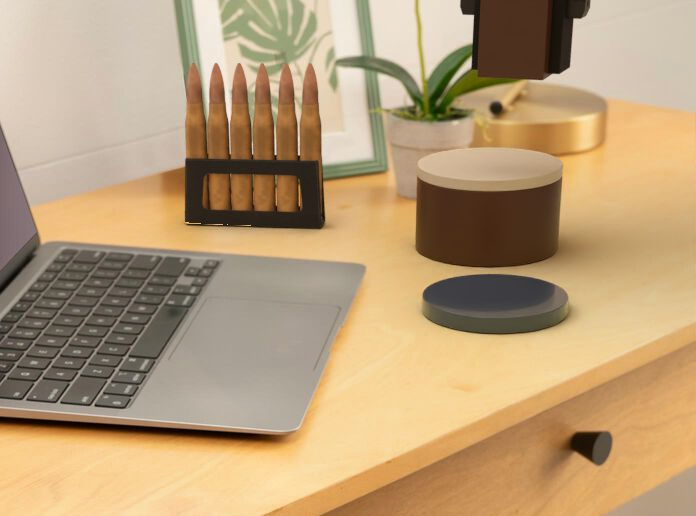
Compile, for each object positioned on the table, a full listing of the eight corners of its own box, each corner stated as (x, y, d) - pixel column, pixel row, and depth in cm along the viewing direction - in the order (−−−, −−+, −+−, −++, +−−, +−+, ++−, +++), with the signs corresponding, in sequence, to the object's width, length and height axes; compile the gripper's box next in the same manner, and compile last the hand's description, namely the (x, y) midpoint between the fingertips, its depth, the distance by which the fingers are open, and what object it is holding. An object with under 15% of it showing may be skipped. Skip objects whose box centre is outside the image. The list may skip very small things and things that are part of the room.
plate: (524, 281, 99) (524, 267, 99) (594, 322, 91) (596, 306, 91) (398, 298, 97) (399, 283, 97) (460, 341, 89) (461, 325, 89)
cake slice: (499, 64, 102) (504, -29, 99) (563, 67, 100) (570, -27, 97) (476, 77, 98) (481, -20, 95) (543, 80, 96) (549, -18, 93)
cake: (515, 222, 113) (520, 141, 110) (584, 256, 104) (590, 170, 101) (392, 237, 110) (394, 155, 107) (452, 273, 101) (455, 186, 99)
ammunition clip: (184, 224, 116) (177, 64, 110) (190, 218, 117) (184, 60, 112) (321, 228, 113) (320, 65, 108) (325, 222, 115) (325, 61, 109)
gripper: (383, -329, 89) (375, 71, 100) (684, -349, 82) (642, 85, 92) (425, -324, 95) (413, 53, 106) (708, -342, 88) (667, 65, 98)
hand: (520, 67), depth 99 cm, fingers closed on cake slice, 4 cm apart
